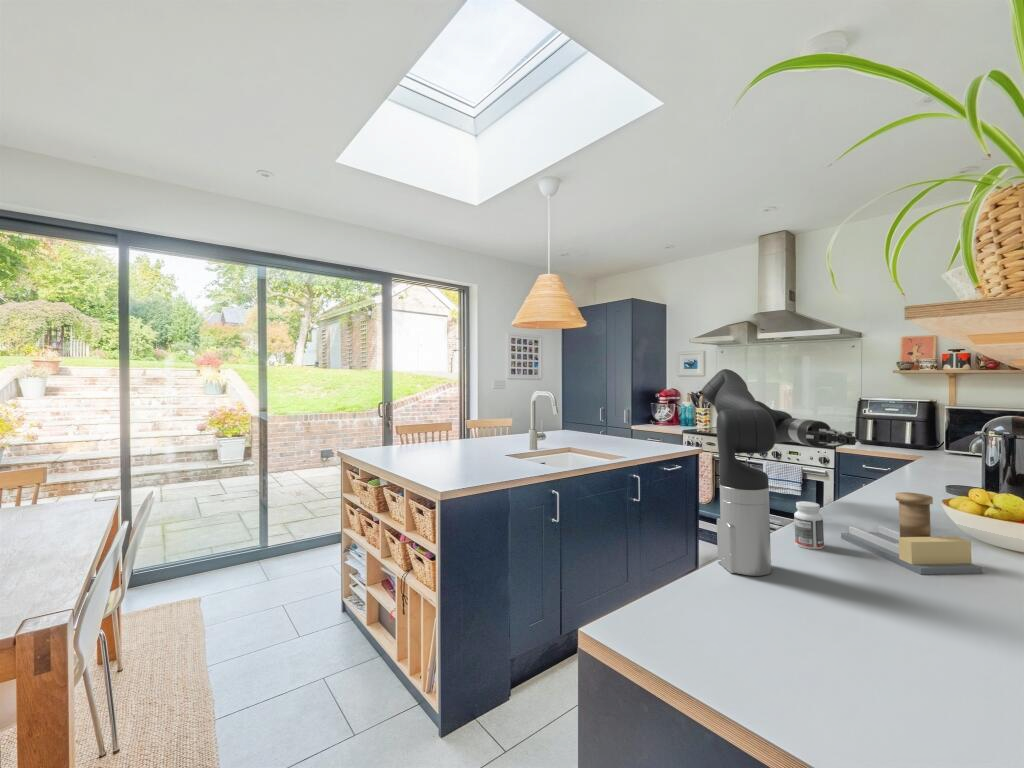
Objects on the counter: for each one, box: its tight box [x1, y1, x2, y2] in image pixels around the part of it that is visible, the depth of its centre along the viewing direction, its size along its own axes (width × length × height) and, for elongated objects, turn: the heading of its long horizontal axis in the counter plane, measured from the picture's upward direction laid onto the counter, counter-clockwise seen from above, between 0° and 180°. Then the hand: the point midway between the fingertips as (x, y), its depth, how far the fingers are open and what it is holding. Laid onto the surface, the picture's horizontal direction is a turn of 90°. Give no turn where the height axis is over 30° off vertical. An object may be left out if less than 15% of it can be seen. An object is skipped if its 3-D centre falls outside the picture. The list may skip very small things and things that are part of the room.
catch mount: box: [840, 525, 983, 575], centre depth 100 cm, size 12×22×6 cm, turn 179°
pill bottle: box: [793, 500, 825, 550], centre depth 106 cm, size 6×6×10 cm
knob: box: [894, 491, 934, 545], centre depth 97 cm, size 6×6×12 cm
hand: (852, 441), depth 115 cm, fingers closed
